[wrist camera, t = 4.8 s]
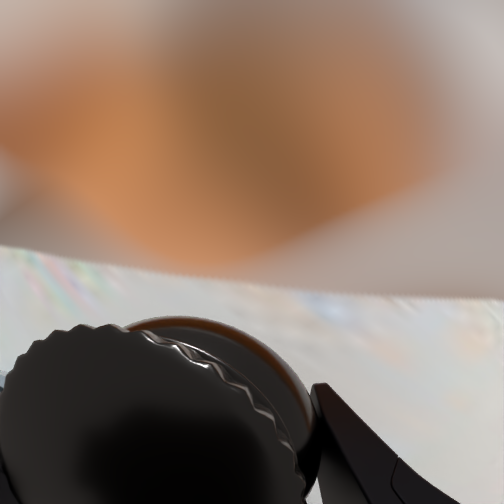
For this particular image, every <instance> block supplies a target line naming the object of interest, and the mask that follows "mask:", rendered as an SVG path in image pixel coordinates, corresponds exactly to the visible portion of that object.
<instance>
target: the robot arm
mask: <svg viewBox="0 0 504 504" xmlns="http://www.w3.org/2000/svg"><path fill="white" fill-rule="evenodd" d="M310 397H311V399H312V402H313V404H314V406H315V409H316V412H317V415H318V419H319V423H320V428H321V436H322V455H321V462H320V468H319V472H318V475H317V478H318V483H319V487H320V492H321V497H322V502H323V504H460V503H459V502H457V501H456V500H454V499H452V498H451V497H449V496H448V495H446V494H445V493H443V492H442V491H440V490H439V489H438V488H436V487H435V486H433V485H432V484H430V483H429V482H428V481H426V480H425V479H424V478H422V477H421V476H420V475H419V474H417V473H416V472H415V471H414V470H413V469H412V468H411V467H410V466H409V465H407V464H406V463H405V462H404V461H403V460H402V459H401V458H400V457H398V455H397V454H396V453H395V452H394V451H393V450H392V449H391V448H390V447H389V446H388V445H387V444H386V443H385V442H384V441H383V440H382V439H381V438H380V437H379V436H378V435H377V434H376V433H375V432H374V431H373V430H372V429H371V428H370V427H369V426H368V425H367V424H366V423H365V422H364V421H363V420H362V419H361V418H360V417H359V416H358V415H357V414H356V413H355V412H354V411H353V410H352V409H351V408H350V407H349V406H348V405H347V404H346V403H345V402H344V400H343V399H342V398H341V397H340V396H339V395H338V394H337V393H336V392H335V391H334V390H333V389H332V388H331V387H330V386H329V385H328V384H327V383H315V384H313V385H312V388H311V393H310ZM0 504H19V503H18V502H17V500H16V499H15V497H14V496H13V494H12V493H11V491H10V488H9V484H8V481H7V478H6V476H5V474H4V472H3V470H2V468H1V462H0Z"/></svg>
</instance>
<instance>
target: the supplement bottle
mask: <svg viewBox="0 0 504 504" xmlns="http://www.w3.org/2000/svg"><path fill="white" fill-rule="evenodd" d="M321 455H322V436H321V428H320V423H319V419H318V415H317V412H316V409H315V406H314V404H313V402H312V399H311V397H310V395H309V393H308V391H307V390H306V388H305V386H304V384H303V383H302V382H301V380H300V379H299V377H298V376H297V374H296V373H295V372H294V371H293V370H292V368H291V367H290V366H289V365H288V364H287V363H286V362H285V361H284V360H283V359H282V358H281V357H280V356H279V355H278V354H277V353H275V352H274V351H273V350H272V349H271V348H269V347H268V346H267V345H265V344H264V343H262V342H261V341H259V340H258V339H256V338H254V337H253V336H251V335H249V334H247V333H245V332H243V331H241V330H239V329H237V328H235V327H232V326H229V325H227V324H224V323H221V322H217V321H213V320H210V319H205V318H199V317H191V316H163V317H154V318H150V319H145V320H141V321H138V322H135V323H132V324H129V325H127V326H125V327H120V326H118V325H115V324H107V325H104V326H100V327H98V328H95V327H92V326H89V325H86V324H80V325H78V326H75V327H74V328H72V329H71V330H70V331H64V330H54V331H53V332H52V333H51V334H50V335H49V336H48V337H47V338H46V339H45V340H37V341H34V342H33V343H32V345H31V346H30V348H29V350H28V351H27V353H25V354H22V355H20V356H18V358H17V360H16V362H15V365H14V368H13V370H11V371H10V372H9V373H8V374H7V375H6V377H5V382H4V388H3V390H2V391H1V392H0V462H1V468H2V470H3V472H4V474H5V476H6V478H7V481H8V484H9V488H10V491H11V493H12V494H13V496H14V497H15V499H16V500H17V502H18V503H19V504H307V502H306V498H307V497H308V495H309V494H310V492H311V490H312V488H313V486H314V483H315V481H316V478H317V475H318V472H319V468H320V462H321Z"/></svg>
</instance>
